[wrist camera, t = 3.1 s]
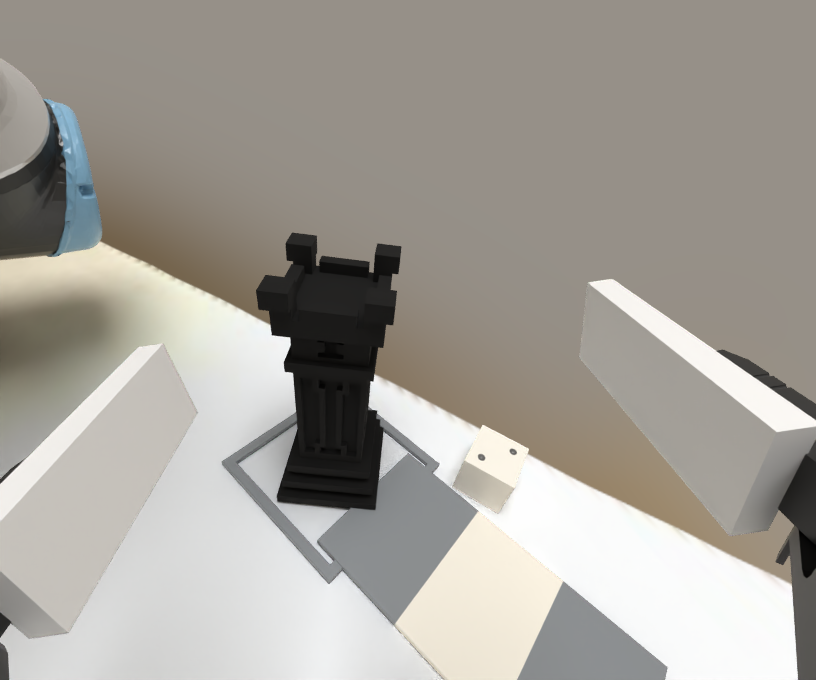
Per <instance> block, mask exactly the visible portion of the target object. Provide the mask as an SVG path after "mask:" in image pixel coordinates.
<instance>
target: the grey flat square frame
mask: <svg viewBox="0 0 816 680" xmlns="http://www.w3.org/2000/svg"><path fill="white" fill-rule="evenodd" d="M368 410H372V409H371V408H369V407H368ZM376 419H381V420H380V427H384V430H383V431H385V432H386V433H387V434H388V435H390V436H391V437H392V438H393V439H394V440H396V441H397V442H398V443H399V444H400V445H402V446H403V447H404V448H405V449H407V450H408V451H409V452H410V453H411V454H413V455H414V456H415V457H416V458H417V459H419V460H420V461H421V462H422V463H424V464H425V465H426V466H425V467H426V468H427V469H428V470H429V471H430V472H432V473H433V472H434V471H435V470H436V469H437V467H438V466H439V463H438V462H436V461H435V460H434V459H433V458H431V457H430V456H429V455H428V454H426V453H425V452H424V451H423V450H421V449H420V448H419V447H418V446H416V445H415V444H414V443H413V442H412V441H410V440H409V439H408V438H407V437H405V436H404V435H403V434H402V433H400V432H399V431H398V430H397V429H395V428H394V427H393V426H392V425H390V424H389V423H388V422H387V421H386V420H384V419H383V418H382V417H381V416H379V415H378V414H377V417H376ZM296 423H297V415H296V413H295V414H293V415H292V416H290V417H289V418H287V419H285V420H284V421H282V422H281V423H279V424H278V425H276V426H275V427H273V428H272V429H270V430H269V431H267V432H266V433H264V434H263V435H261V436H260V437H258V438H257V439H255V440H254V441H252V442H251V443H249V444H248V445H246V446H245V447H243V448H242V449H240V450H239V451H237V452H236V453H234V454H233V455H231V456H230V457H228V458H227V459H225V460H224V461H222V465H223V466H224V467H225V468H226V469H227V470H228V471H229V472H230V473H231V475H232V476H233V477H234V478H235V479H236V480H237V481H238V482H239V484H240V485H241V486H242V487H243V488H244V489H245V490H246V491H247V493H248V494H249V495H250V496H251V497H252V498H253V499H254V500H255V502H256V503H257V504H258V505H259V506H260V507H261V508H262V509H263V510H264V512H265V513H266V514H267V515H268V516H269V517H270V518H271V519H272V521H273V522H274V523H275V524H276V525H277V526H278V527H279V528H280V530H281V531H282V532H283V533H284V534H285V535H286V536H287V537H288V538H289V540H290V541H291V542H292V543H293V544H294V545H295V546H296V547H297V549H298V550H299V551H300V552H301V553H302V554H303V555H304V556H305V558H306V559H307V560H308V561H309V562H310V563H311V564H312V565H313V566H314V568H315V569H316V570H317V571H318V572H319V573H320V574H321V575H322V577H323V578H324V579H325V580H326V581H327V582H328V583H329V584H330V582H331V581H332V580H333V579H334V578H335V577H336V576H337V575H338V574H339V573H340V572H341V571H342V569H343V567H342V566H341V565H340V564H339V563H338V562H337V561H336V560H334V562H333V563H332V564H331V565H330V564H329V563H328V562H327V561H326V560H325V559H324V558H323V557H322V556H321V554H320V553H319V552H318V551H317V550H316V549H315V548H314V547H313V546H312V545H311V544H310V542H309V541H308V540H307V539H306V538H305V537H304V536H303V535H302V534H301V533H300V532H299V530H298V529H297V528H296V527H295V526H294V525H293V524H292V523H291V522H290V521H289V520H288V518H287V517H286V516H285V515H284V514H283V513H282V512H281V511H280V510H279V509H278V508H277V506H276V505H275V504H274V503H273V502H272V501H271V500H270V499H269V498H268V497H267V496H266V494H265V493H264V492H263V491H262V490H261V489H260V488H259V487H258V486H257V485H256V484H255V482H254V481H253V480H252V479H251V478H250V477H249V476H248V475H247V474H246V473H245V472H244V470H243V469H242V468H241V467H240V466H239V465H238V463H239V462H240V461H242V460H243V459H245V458H246V457H248V456H249V455H251V454H252V453H254V452H255V451H257V450H258V449H259V448H261V447H262V446H264V445H265V444H267V443H268V442H270V441H271V440H273V439H274V438H276V437H277V436H278V435H280V434H281V433H283V432H284V431H286V430H287V429H289V428H290V427H292V426H293V425H295V424H296Z"/></svg>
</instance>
